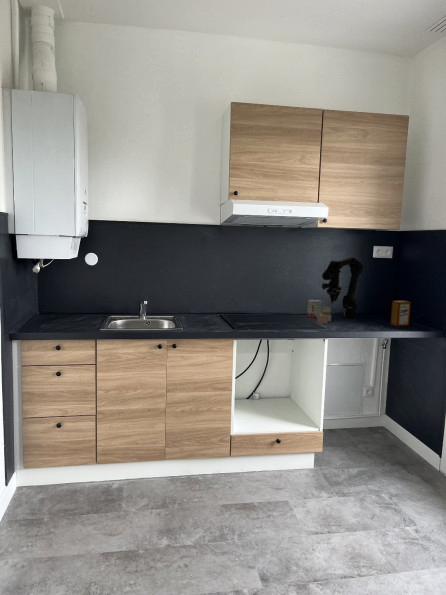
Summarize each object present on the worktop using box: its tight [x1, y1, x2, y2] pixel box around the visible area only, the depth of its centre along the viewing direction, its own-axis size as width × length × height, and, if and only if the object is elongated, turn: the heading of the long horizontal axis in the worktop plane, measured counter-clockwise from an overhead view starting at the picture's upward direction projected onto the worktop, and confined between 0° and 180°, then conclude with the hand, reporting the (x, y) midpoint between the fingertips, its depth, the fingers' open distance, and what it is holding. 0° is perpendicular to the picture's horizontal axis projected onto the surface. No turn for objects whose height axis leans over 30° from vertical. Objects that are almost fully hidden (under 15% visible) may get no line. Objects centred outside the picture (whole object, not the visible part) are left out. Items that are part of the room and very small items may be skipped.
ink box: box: [307, 299, 323, 318], centre depth 320 cm, size 9×5×12 cm, turn 103°
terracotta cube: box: [316, 315, 329, 324], centre depth 296 cm, size 5×5×5 cm
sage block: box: [319, 314, 332, 322], centre depth 308 cm, size 7×7×4 cm
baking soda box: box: [390, 300, 412, 327], centre depth 296 cm, size 10×6×16 cm
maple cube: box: [321, 306, 332, 315], centre depth 307 cm, size 5×5×5 cm
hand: (333, 302), depth 309 cm, fingers open, 9 cm apart
